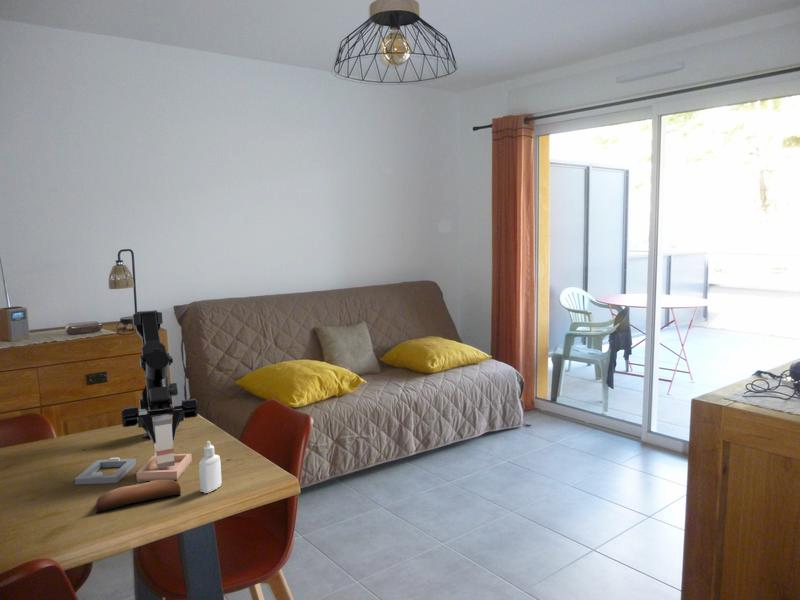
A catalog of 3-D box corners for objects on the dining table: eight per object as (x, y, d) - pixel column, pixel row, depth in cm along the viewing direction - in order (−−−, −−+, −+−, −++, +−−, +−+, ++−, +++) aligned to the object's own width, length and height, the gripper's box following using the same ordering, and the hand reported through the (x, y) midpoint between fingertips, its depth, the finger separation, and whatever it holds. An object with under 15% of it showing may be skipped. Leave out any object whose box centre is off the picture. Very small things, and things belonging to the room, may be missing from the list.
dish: (154, 463, 159) (153, 454, 159) (191, 462, 159) (191, 453, 159) (137, 481, 147) (136, 472, 147) (177, 480, 147) (176, 471, 147)
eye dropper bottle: (225, 488, 142) (223, 441, 141) (202, 495, 139) (199, 446, 137) (219, 483, 145) (216, 436, 144) (196, 489, 142) (193, 441, 141)
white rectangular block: (155, 462, 154) (152, 416, 153) (171, 459, 156) (168, 414, 155) (157, 468, 150) (154, 421, 149) (174, 465, 152) (171, 418, 151)
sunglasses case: (176, 482, 146) (177, 465, 142) (181, 506, 141) (181, 488, 137) (95, 499, 138) (93, 481, 134) (97, 524, 133) (95, 506, 129)
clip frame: (97, 465, 158) (97, 457, 158) (136, 463, 159) (135, 455, 159) (75, 484, 146) (74, 475, 146) (116, 482, 147) (116, 474, 146)
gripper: (119, 378, 150) (122, 432, 141) (195, 369, 158) (203, 420, 149) (120, 400, 158) (124, 453, 149) (193, 391, 166) (200, 440, 157)
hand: (163, 441), depth 151 cm, fingers closed on white rectangular block, 4 cm apart
